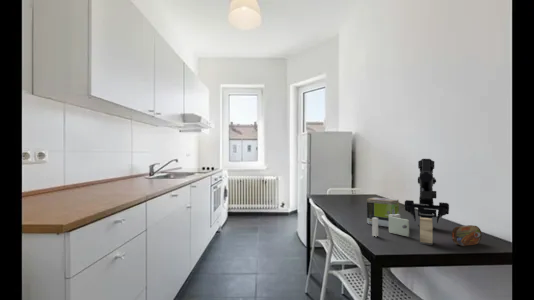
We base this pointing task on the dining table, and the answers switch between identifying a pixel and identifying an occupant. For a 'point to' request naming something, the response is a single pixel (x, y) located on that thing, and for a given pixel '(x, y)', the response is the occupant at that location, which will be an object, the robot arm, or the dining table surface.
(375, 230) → the door frame
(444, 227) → the dining table surface
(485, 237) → the dining table surface
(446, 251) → the dining table surface
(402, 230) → the door leaf
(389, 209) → the tea box
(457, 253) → the dining table surface
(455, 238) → the tin
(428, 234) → the block
